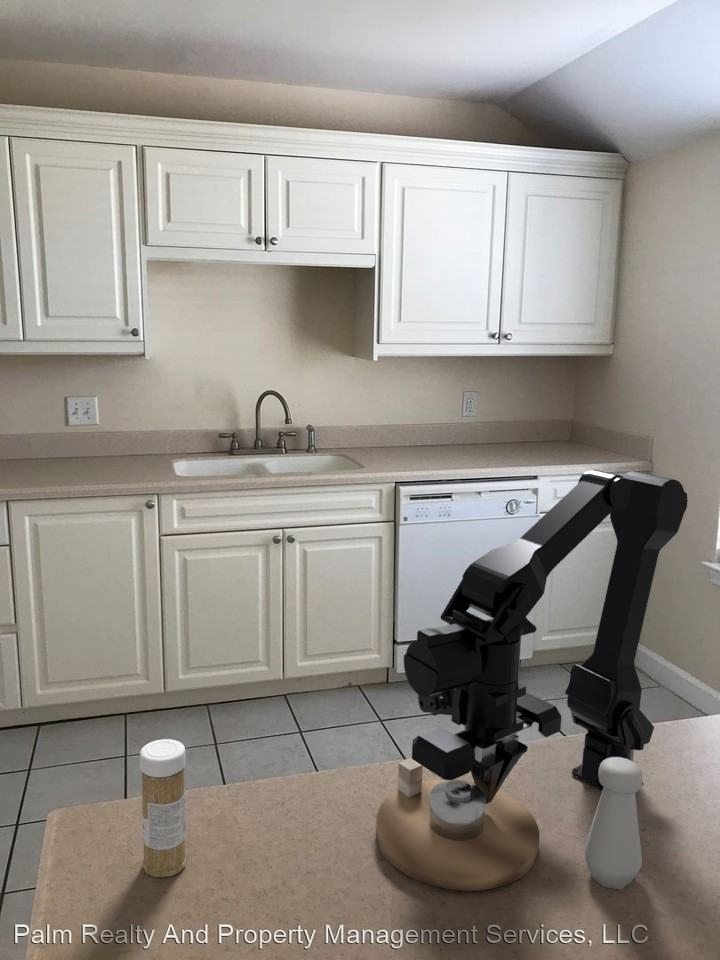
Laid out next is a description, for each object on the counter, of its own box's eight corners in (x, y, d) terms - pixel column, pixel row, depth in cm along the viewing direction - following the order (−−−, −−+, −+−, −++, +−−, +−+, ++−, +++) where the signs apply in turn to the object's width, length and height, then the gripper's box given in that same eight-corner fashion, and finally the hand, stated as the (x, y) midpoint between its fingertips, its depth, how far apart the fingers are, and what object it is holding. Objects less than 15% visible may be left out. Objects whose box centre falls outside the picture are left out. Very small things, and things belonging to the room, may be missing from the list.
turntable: (457, 774, 105) (459, 738, 104) (572, 847, 91) (576, 806, 90) (343, 824, 94) (344, 784, 93) (455, 915, 80) (457, 869, 79)
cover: (456, 802, 97) (458, 767, 96) (495, 827, 92) (497, 790, 91) (418, 820, 93) (420, 783, 92) (456, 847, 88) (458, 809, 87)
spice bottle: (148, 851, 90) (146, 736, 87) (191, 852, 90) (189, 737, 87) (137, 879, 85) (134, 759, 82) (181, 880, 85) (179, 760, 82)
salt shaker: (628, 859, 91) (639, 749, 88) (648, 895, 85) (660, 779, 82) (575, 858, 90) (585, 749, 88) (591, 894, 85) (602, 779, 82)
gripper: (496, 633, 104) (489, 747, 107) (381, 669, 92) (377, 796, 95) (568, 663, 95) (559, 786, 98) (451, 708, 84) (445, 845, 87)
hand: (485, 801), depth 95 cm, fingers closed
